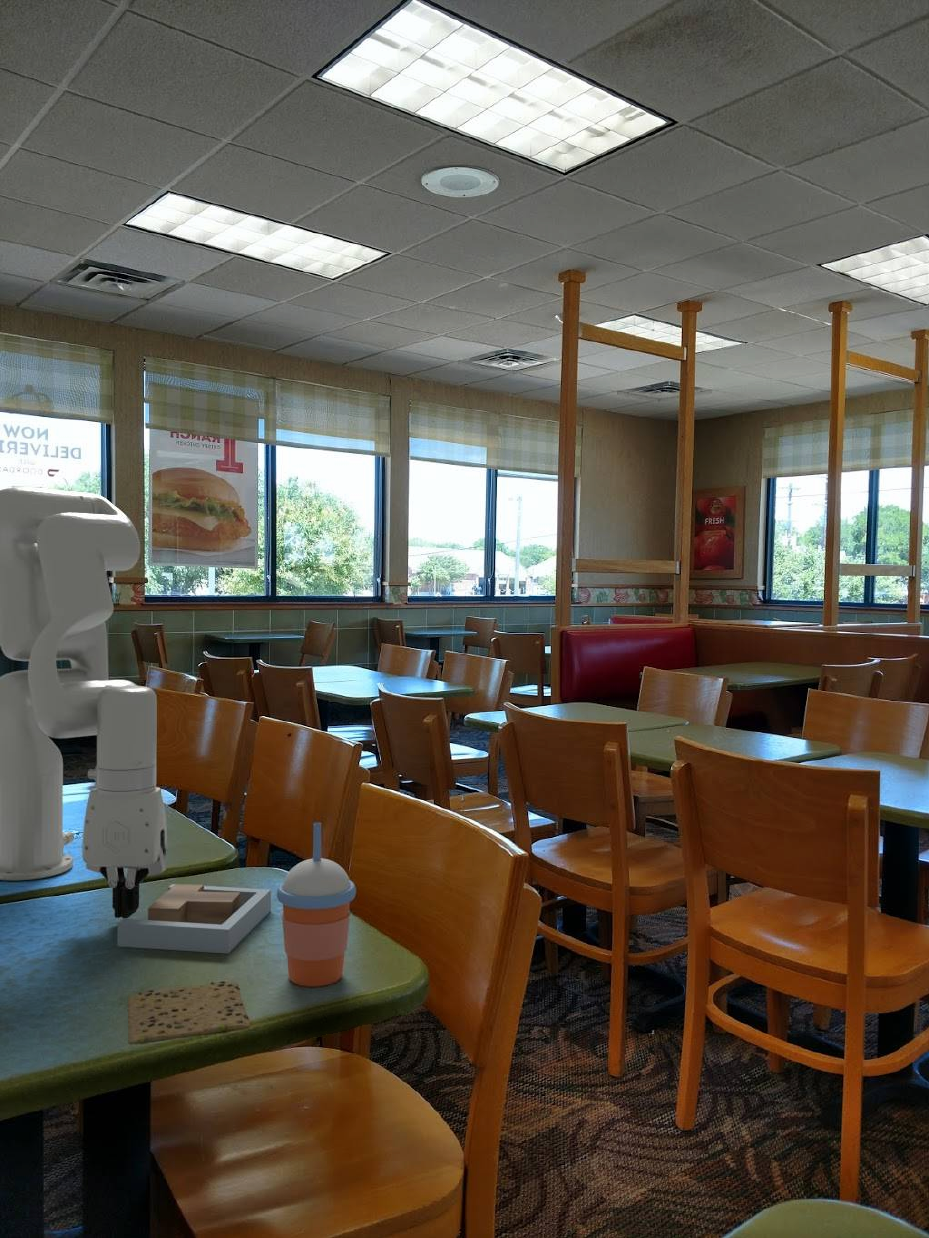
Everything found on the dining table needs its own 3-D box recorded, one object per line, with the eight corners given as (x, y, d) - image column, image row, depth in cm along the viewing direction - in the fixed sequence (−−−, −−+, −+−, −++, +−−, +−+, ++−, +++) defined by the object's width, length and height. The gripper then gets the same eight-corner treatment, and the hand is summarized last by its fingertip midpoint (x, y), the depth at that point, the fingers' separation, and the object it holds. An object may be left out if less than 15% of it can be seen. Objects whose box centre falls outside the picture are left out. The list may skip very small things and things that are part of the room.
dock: (172, 904, 136) (172, 883, 136) (270, 910, 134) (271, 889, 134) (117, 946, 120) (117, 922, 120) (228, 953, 118) (228, 929, 118)
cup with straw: (349, 993, 107) (350, 834, 106) (268, 992, 107) (269, 832, 106) (359, 962, 116) (361, 815, 115) (284, 960, 116) (286, 813, 116)
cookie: (125, 999, 105) (125, 990, 105) (237, 985, 110) (237, 977, 110) (126, 1049, 94) (126, 1039, 94) (251, 1031, 98) (251, 1022, 98)
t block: (175, 912, 133) (175, 884, 133) (246, 914, 132) (246, 885, 132) (148, 938, 123) (148, 908, 123) (225, 940, 122) (224, 909, 122)
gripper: (58, 782, 125) (58, 921, 125) (168, 787, 123) (167, 927, 124) (87, 771, 132) (87, 902, 133) (191, 775, 130) (190, 908, 131)
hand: (125, 914), depth 128 cm, fingers closed
